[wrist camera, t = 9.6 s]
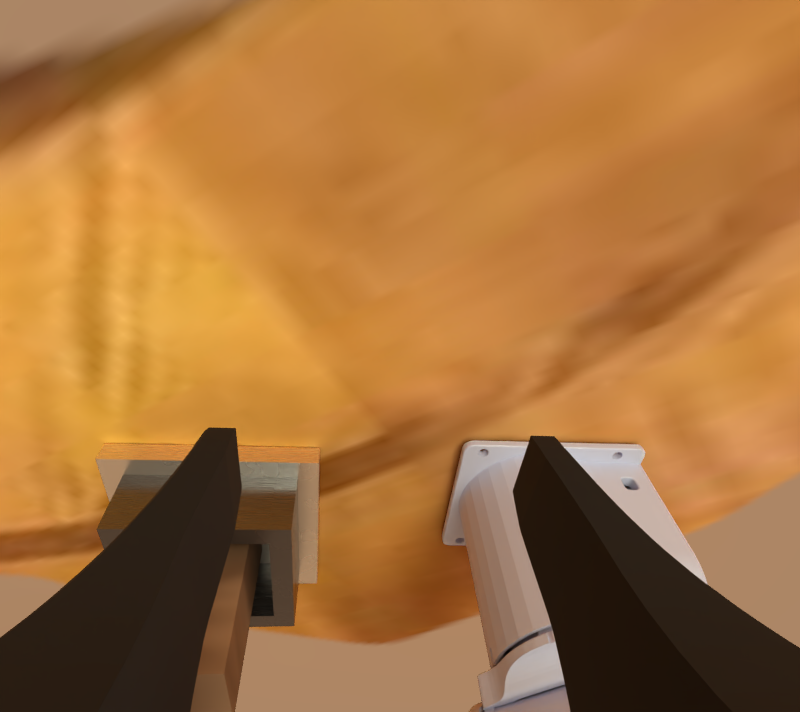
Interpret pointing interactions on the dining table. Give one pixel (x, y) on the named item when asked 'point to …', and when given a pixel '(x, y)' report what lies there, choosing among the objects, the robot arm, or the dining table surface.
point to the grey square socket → (257, 515)
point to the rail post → (227, 632)
